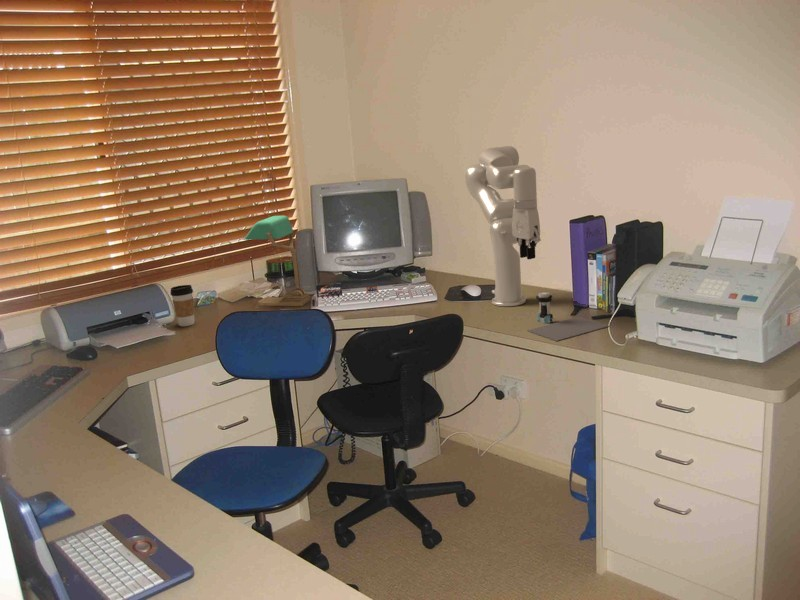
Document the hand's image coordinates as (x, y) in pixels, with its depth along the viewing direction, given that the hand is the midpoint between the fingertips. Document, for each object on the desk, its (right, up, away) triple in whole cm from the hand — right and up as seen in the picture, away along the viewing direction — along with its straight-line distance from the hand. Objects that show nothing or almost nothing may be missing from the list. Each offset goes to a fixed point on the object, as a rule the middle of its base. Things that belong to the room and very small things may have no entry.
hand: (527, 257), depth 267 cm
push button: (+6, -22, -2) cm, 23 cm away
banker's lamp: (-92, -16, +52) cm, 106 cm away
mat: (+11, -24, -11) cm, 29 cm away
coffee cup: (-126, -24, +33) cm, 132 cm away
